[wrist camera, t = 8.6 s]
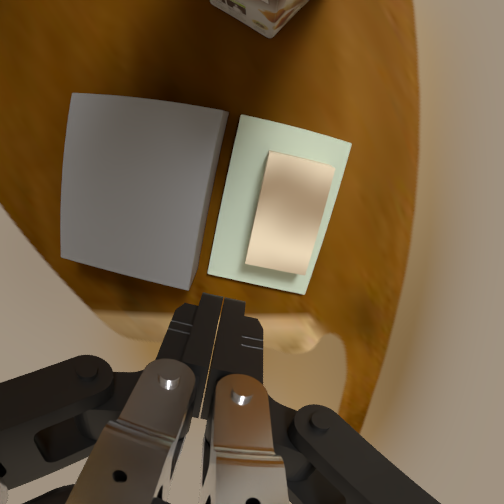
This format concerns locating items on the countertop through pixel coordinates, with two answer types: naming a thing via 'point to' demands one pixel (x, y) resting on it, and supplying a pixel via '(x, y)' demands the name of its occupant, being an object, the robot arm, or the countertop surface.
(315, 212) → the tile
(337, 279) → the countertop surface
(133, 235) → the grey flat block
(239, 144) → the mat
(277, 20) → the coffee box
